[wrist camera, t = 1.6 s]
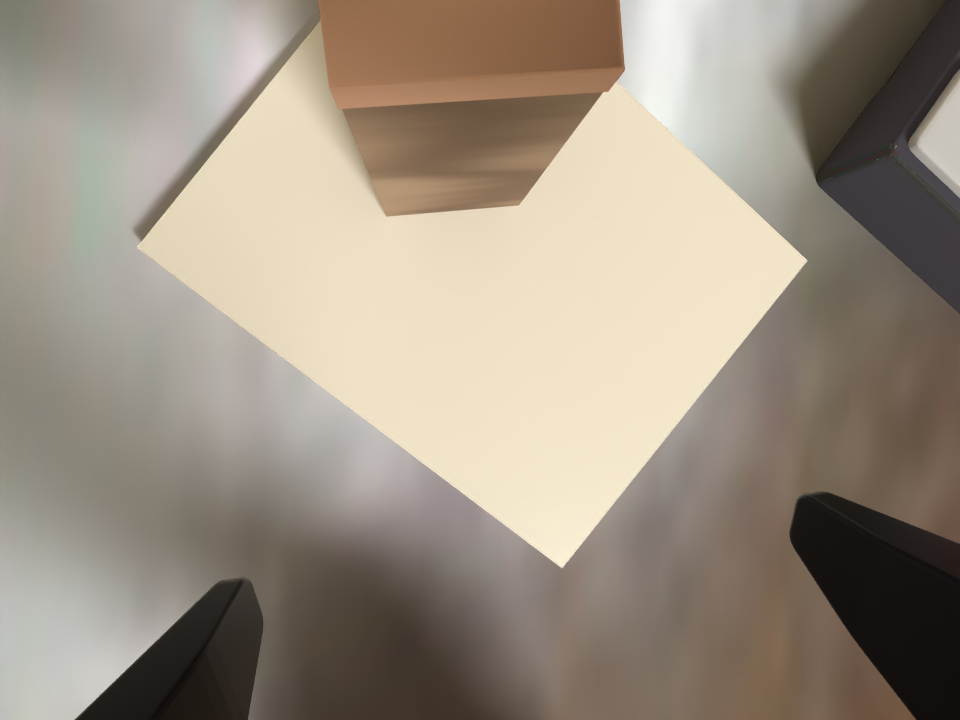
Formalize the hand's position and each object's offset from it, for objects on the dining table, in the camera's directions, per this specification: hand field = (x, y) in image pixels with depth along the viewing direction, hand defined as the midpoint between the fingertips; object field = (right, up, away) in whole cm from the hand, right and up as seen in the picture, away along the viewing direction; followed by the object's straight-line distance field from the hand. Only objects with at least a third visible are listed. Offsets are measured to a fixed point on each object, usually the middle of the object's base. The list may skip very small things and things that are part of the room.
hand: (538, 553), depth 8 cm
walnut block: (-2, +11, +10) cm, 15 cm away
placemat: (0, +7, +11) cm, 13 cm away
